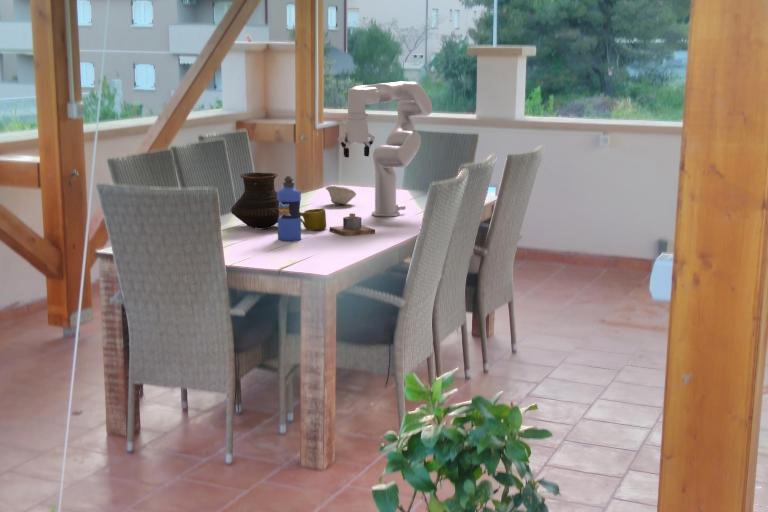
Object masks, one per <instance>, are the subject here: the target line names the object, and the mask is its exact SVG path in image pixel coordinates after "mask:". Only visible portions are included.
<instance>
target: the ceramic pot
mask: <svg viewBox="0 0 768 512" xmlns="http://www.w3.org/2000/svg"><path fill="white" fill-rule="evenodd" d="M239 177H241V178H242V181H243V187H244V191H243V194H242V195H241V196H240V198H238V199H237V201H236V202H235V203H234V204H233V205H232V207H230V208H231V209H230V213H232V215H233V216H235V218H237V219H238V220H240V221H241V222H242V223H244V224H245V225H246V226H248V227H250V228H251V229H255V228H264V229H271V228H273V227H274V226H275V225H278V212H279V208H278V200H277V192H278V191H276V190H275V178H277V177H278V174H277V173H274V172H255V171H254V172H244V173H241V174H240V175H239Z"/></svg>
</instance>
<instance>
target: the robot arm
mask: <svg viewBox="0 0 768 512" xmlns="http://www.w3.org/2000/svg"><path fill="white" fill-rule="evenodd" d="M391 102H397V107H396V109H397V110H396V111H397V123H396V124H395V126H394V127H393V129H392V130H391V131H390V133H389V134H388V135H387V138H386V140H385V141H386V142H385V144H381V145H378V146H376V147H375V148H374V149H373V152H372V159H373V164H374V187H375V188H374V210H373V211H372V212H371V215H372V216H375V217H397V216H400V210H401V211H403V210H406V205H399V204H397V175H396V172H395V169H394V168H406V167H407V166H408V165H409V164H410V163H411V162H412V160H413V159H414V157H415V156H416V155H417V153H418V151H419V149H420V148H421V144H422V137H421V135H420V133H419V132H418V131H416V130H415V124H414V121H413V119H412V117H427V116H429V115H431V113H432V111H433V104H432V100H431V99H430V97H429V96H428V94H427V92H426V91H425V90H424V88H423V87H422V86H421V85H420V84H419V83H418V82H416V81H394V82H384V83H376V84H364V85H355V86H352V87H351V88H350V87H349V89H347V119H345V124H344V130H343V134H342V135H341V136H339V137H338V138H337V140H338V142H339V145H340V146H341V147H342V148H343V157H345V158H349V157H350V148H349V147H350V146H351V145H352V144H363V145H364V147H363V155H364V157H367V158H368V157H369V155H370V148H371V146H372V145H373V143H374V141H375V136H374V135H372V134H371V133H369V126H368V121H367V119H366V118H368V117H369V114H368V113H366V105H375V104H377V103H378V104H379V103H381V104H382V103H383V104H384V103H386V104H387V103H391Z"/></svg>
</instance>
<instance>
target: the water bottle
mask: <svg viewBox="0 0 768 512" xmlns="http://www.w3.org/2000/svg"><path fill="white" fill-rule="evenodd" d="M276 192H277V200H278V208H279V212H278V223H277V240H278V241H280V242H285V241H286V242H291V243H293V242H298V241H301V240H302V233H301V232H302V227H301V226H302V224H301V223H302V222H301V219H302V218H301V217H302V216H300V212H301V211H300V208H301V200H302V192H301V191H300V190H298V189H297V188H295V181H294V178H293V177H292V176H290V175H289V176H285V178H283V187H282V188H281V189H280V190H277V191H276Z"/></svg>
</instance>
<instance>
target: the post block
mask: <svg viewBox="0 0 768 512" xmlns="http://www.w3.org/2000/svg"><path fill="white" fill-rule="evenodd" d="M348 217H349V219H355V217H356V213H349V215H348ZM329 232H332V233H335V234H339V235H341V236H344V237H347V236H348V237H349V236H358V235H359V236H360V235H371V234H372V235H373V234H376V229H374V228H371V227H368V226H366V225H362V228H361V229H357V230H346V229H343V225H340V226H339V225H337V226H329Z"/></svg>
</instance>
